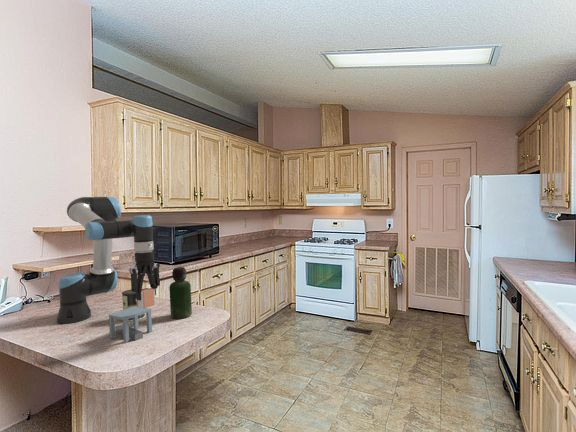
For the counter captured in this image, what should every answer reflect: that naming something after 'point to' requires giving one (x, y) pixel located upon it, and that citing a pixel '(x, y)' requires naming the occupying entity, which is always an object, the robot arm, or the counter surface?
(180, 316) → the green bottle
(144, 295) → the block
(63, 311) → the robot arm
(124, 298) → the coffee can
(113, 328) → the blue toy stool
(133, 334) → the steel bar
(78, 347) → the counter surface
